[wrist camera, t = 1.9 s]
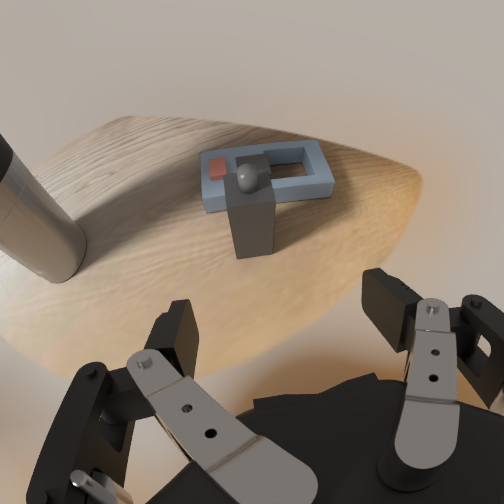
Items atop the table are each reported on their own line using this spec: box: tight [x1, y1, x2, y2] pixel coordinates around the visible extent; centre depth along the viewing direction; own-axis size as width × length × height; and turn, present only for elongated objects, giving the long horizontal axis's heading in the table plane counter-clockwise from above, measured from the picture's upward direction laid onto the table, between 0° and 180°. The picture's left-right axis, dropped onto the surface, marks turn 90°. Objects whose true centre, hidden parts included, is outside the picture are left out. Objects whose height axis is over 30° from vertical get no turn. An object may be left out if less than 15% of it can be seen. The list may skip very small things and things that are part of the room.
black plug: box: [223, 164, 276, 259], centre depth 26 cm, size 4×4×12 cm
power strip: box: [200, 139, 335, 213], centre depth 34 cm, size 16×8×4 cm, turn 98°
